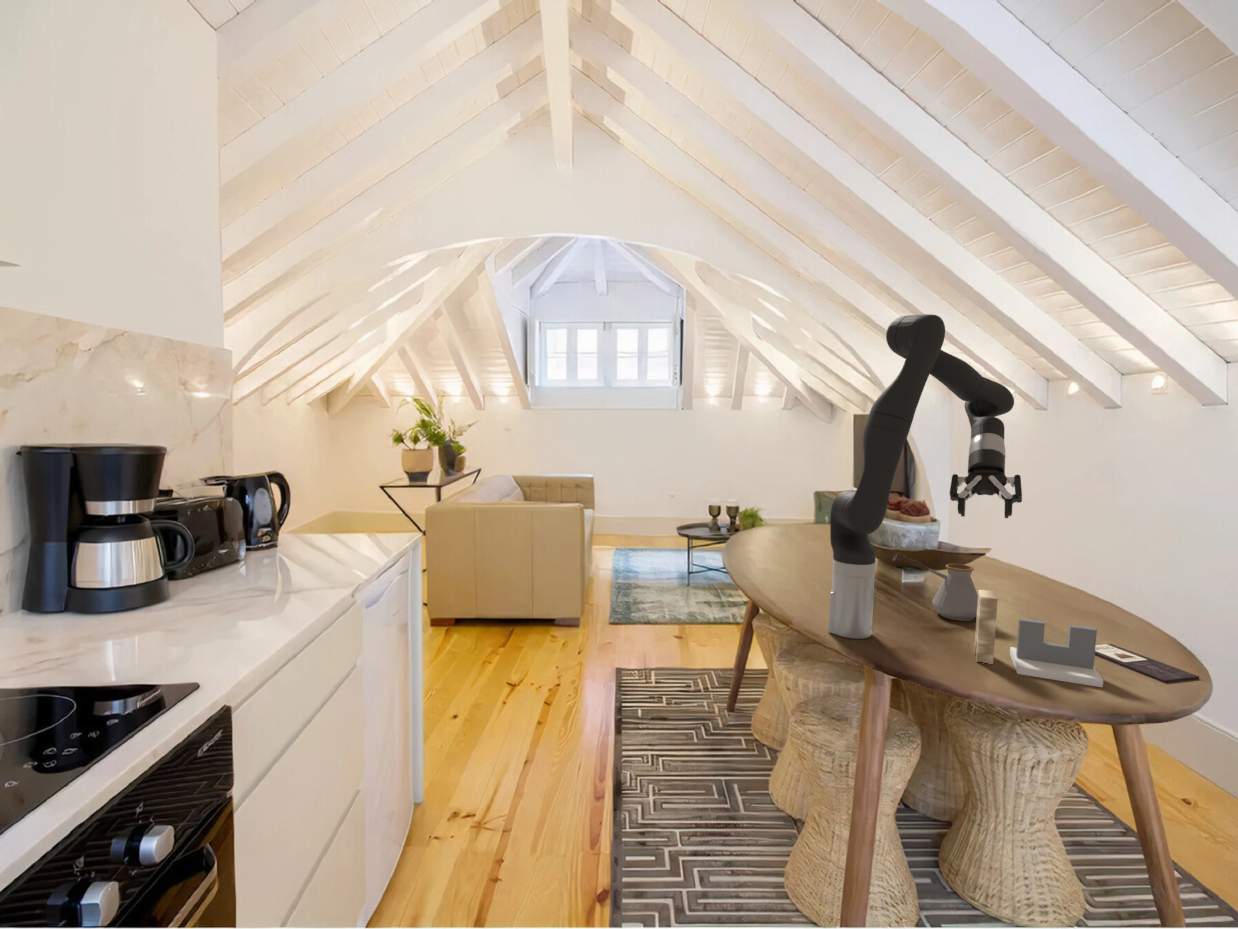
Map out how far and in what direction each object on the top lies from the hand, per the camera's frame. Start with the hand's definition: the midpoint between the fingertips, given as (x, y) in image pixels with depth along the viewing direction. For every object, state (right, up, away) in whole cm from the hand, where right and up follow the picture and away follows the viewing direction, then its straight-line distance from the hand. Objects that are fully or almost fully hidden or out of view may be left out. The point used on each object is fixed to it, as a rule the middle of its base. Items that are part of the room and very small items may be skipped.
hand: (984, 515), depth 145 cm
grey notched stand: (+7, -30, -13) cm, 34 cm away
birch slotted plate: (-4, -30, -7) cm, 31 cm away
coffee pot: (0, -27, +22) cm, 35 cm away
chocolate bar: (+27, -31, -9) cm, 42 cm away
